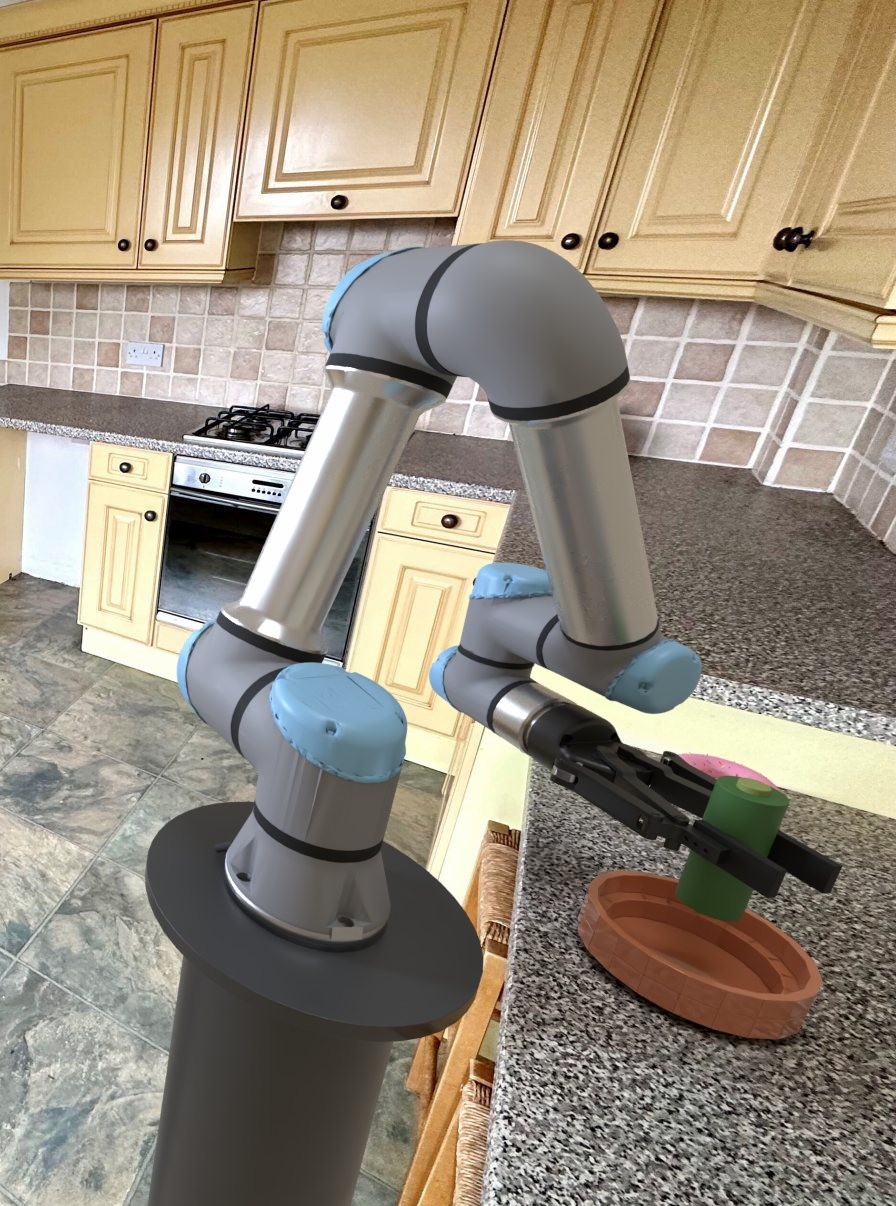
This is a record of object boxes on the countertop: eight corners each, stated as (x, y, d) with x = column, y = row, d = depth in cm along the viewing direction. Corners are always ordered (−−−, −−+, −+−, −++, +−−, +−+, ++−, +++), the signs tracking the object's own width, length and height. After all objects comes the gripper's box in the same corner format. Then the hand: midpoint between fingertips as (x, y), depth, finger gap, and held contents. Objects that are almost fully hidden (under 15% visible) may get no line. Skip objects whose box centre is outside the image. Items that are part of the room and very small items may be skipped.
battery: (677, 906, 69) (722, 786, 66) (673, 879, 73) (716, 763, 69) (745, 929, 67) (797, 806, 63) (738, 901, 70) (787, 781, 66)
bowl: (574, 980, 71) (589, 937, 69) (576, 888, 82) (589, 849, 81) (818, 1082, 62) (842, 1034, 60) (781, 962, 73) (800, 920, 72)
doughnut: (656, 798, 98) (666, 770, 97) (658, 763, 106) (668, 737, 104) (779, 837, 91) (792, 807, 90) (772, 797, 99) (784, 768, 97)
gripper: (617, 757, 87) (880, 911, 65) (474, 766, 85) (694, 927, 63) (636, 697, 84) (916, 836, 62) (490, 705, 82) (724, 851, 60)
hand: (804, 881), depth 63 cm, fingers closed on battery, 4 cm apart
